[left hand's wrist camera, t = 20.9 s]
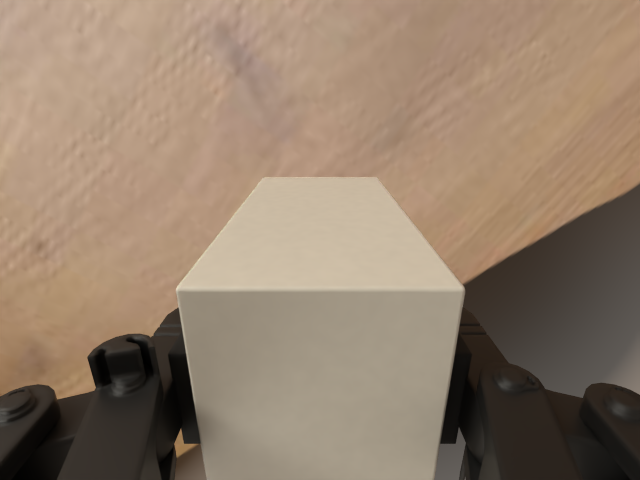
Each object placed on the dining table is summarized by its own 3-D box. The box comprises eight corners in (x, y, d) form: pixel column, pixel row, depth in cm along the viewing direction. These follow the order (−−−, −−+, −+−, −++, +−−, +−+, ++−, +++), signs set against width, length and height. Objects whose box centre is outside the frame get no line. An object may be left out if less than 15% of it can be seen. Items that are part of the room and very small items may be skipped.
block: (370, 305, 19) (427, 531, 9) (270, 304, 19) (213, 531, 9) (377, 176, 16) (467, 288, 6) (262, 176, 16) (174, 288, 6)
